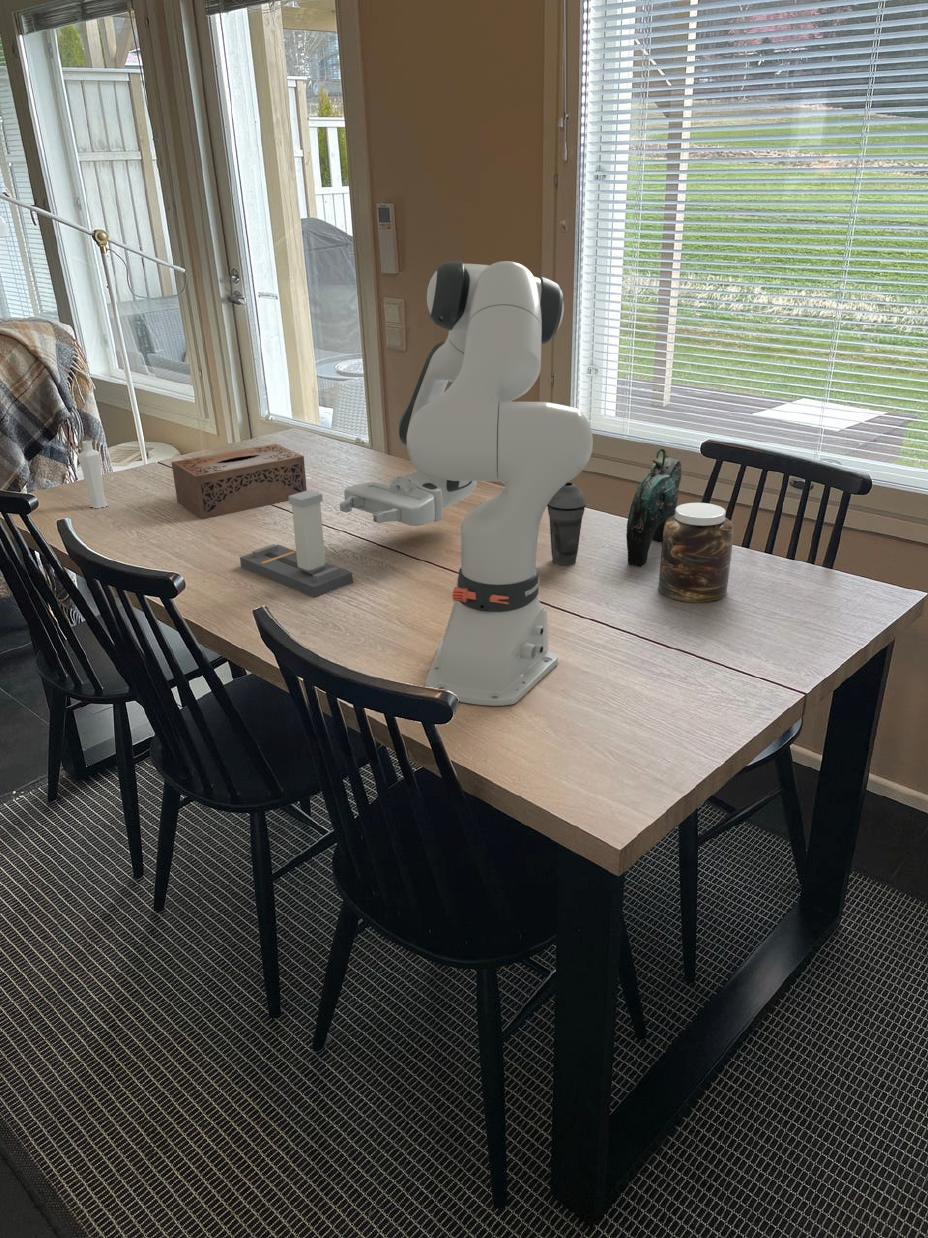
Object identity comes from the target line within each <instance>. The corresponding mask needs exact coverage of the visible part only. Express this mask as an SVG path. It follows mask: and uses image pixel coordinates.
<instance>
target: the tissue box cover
mask: <svg viewBox="0 0 928 1238" xmlns="http://www.w3.org/2000/svg"><path fill="white" fill-rule="evenodd" d="M171 468H172V474H173V481H174V489H175V495H176V502H177V503H176V504H178V503H179V504H180V506H181V505H182V506H183V509H185V508H186V509H185V510H186V511H188V512H189V513H191V514H193V515H194V516H196V517H197V518H199V519H200V520H206V519H212V518H215V517H221V516H226V515H230V514H235V513H239V512H244V511H249V510H254V509H257V508H263V507H266V506H271V504H272V505H277V504H281V503H280V502H282V503H285V502H289V496H291V495H294V494H297V493H301V492H304V491H307V490H308V489H307V480H306V479H307V478H306V466H305V456H304V455H302V454H300V453H297V452H295V451H294V450H291V449H288V448H286V447H285V446H282V445H281V444H280V445H279V444H277V443H270V444H266V445H259V446H254V447H248V448H243V449H237V450H230V451H226V452H220V453H215V454H209V455H202V456H197V457H191V458H186V459H181V460H175V461H171ZM276 503H277V504H276ZM179 504H178V505H179ZM182 506H181V507H182Z"/></svg>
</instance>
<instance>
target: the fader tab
mask: <svg viewBox="0 0 928 1238" xmlns="http://www.w3.org/2000/svg"><path fill="white" fill-rule="evenodd" d="M322 502H323V493H320V492H316V491H313V490H310V489H307V491H304V492H301V493H297V494H294V495H291V496H289V501H288V504H290V505H291V510H292V520H293V521H292V522H293V531H294V542H295V551H296V554H297V565H298V569H299V570H302V571H304V572H307V573H309V574H312V575H313V574H316V573H318V572H321V571H324V570H325V566H324V565H325V562H326V556H325V555H326V554H325V547H324V546H325V545H324V533H323V531H324V529H323V520H322V505H321V503H322Z"/></svg>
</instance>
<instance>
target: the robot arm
mask: <svg viewBox="0 0 928 1238" xmlns="http://www.w3.org/2000/svg"><path fill="white" fill-rule="evenodd" d="M563 295H564V294H563V291H562V289H561V288H560V285H559V284H558V283H556V282H554V281H553V280H551V279H548V278H546V277H543V276H539V277H537V276H534V275H533V273H532V272H531V270H530V269H528V268H527V267H526V266H525V265H523V264H521V263H518V262H515V261H509V260H508V261H507V260H505V261H504V260H503V261H496V262H494V263H492V264H490V265H489V264H478V263H477V264H476V263H463V261H462V260H461V261H460V260H453V261H451V260H450V261H444V262H443V263H442V264H440V265H438V266H437V267H436V269H435V272H434V273H433V275H432V276H431V278H430V281H429V284H428V286H427V290H426V302H427V303H426V305H427V309H428V311H429V317H430V319H431V320H432V322H433V323H434V324H435V325H436V326H438V327H440V328H442V329H445V330H448V333H447V334H448V335H447V338H446V339H445V340H442V341H439V342H438V343H437V344H436V345H435V346H434V347H433V348H432V349H431V351H430V352H429V354H428V355H427V357H426V359H425V362H424V364H423V367H422V370H421V372H420V374H419V378H418V380H417V383H416V386H415V387H414V391H413V394H412V396H411V398H410V401H409V404H408V405H407V407H406V409H405V410H404V411H403V413H402V415H401V417H400V419H399V424H398V436H399V440H400V442H401V443H402V444H403V445H405V446H406V448H407V454H408V456H409V459H410V461H411V463H412V464H413V466H414V468H415V469H417V470H413V471H411V472H408V473H404V474H402V475H398V476H396V477H395V478H393V480H392V482H391V484H390V485H387V484H383V483H380V482H374V481H371V482H363V483H359V484H353V485H349V486H347V487H345V489H344V491H343V492H344V501H342V502H340V503H339V511H340V512H341V513H350V512H352V511H353V509H356V510H360V511H362V512H366V513H369V514H372V517H373V519H372V520H373V522H375V523H378V524H383V523H385V522H386V523H389V522H390V523H391V522H398V523H402V524H405V525H408V526H411V527H420V526H424V525H427V524H429V523H434V522H440V521H442V520H443V516H444V515H443V512H444V511H443V510H444V509H445V508H448V507H450V506H453V505H454V504H456V503H459V502H461V501H463V500H464V499H466V498H468V497H469V496H470V495H472V493H473V492H474V491H475V489H476V487H477V483H478V482H498V483H502V484H503V485H504V488H503V489H502V491H501V492H500V493H498V495H496V496H494V497H493V498H491V499H489V500H487V501H484V502H482V503H480V504H478V505H477V506H475V507H473V508H472V509H471V510H469V512H468V513H467V514H466V515H465V516H464V518H463V520H462V523H461V526H460V548H461V549H460V553H461V554H460V561H461V562H460V565H461V566H460V568H459V570H458V576H457V579H456V587H454V588H453V590H452V596H451V597H452V600H453V605H452V609H451V611H450V615H449V618H448V622H447V626H446V628H445V631H444V632H445V633H444V636H443V639H441V640H440V644H439V645H438V648H437V651H436V653H435V656H434V659H433V661H432V663H431V666H430V669H429V671H428V674H427V677H426V679H425V683H424V687H425V686H427V687H433V688H438V689H444V690H449V691H451V692H453V693H454V694H456V695H457V697H458V698H459V700H460V702H459V703H464V704H465V703H466V704H469V705H470V704H472V705H477V706H478V705H480V706H494V707H495V706H496V707H497V706H508V705H509V706H510V705H514V704H516V703H518V702H519V701H520V700H521V699H522V698H523V697H524V696H525V695H527V694H528V692H529V691H531V690H532V689H533V688H534V687H535V686H536V685H537V684H539V682H540V681H541V680H543V678H544V677H546V675H548V674H549V672H551V671H552V670H553V669H554V668H555V667H556V666H557V665H558V664H559V659H558V655H557V654H555V653H554V652H552V651H550V650H549V628H548V627H549V624H548V623H549V622H548V611H547V610H546V608H545V607H544V606H543V605H542V603H541V602H540V600H539V598H538V595H539V586H540V577H539V569H538V568H537V552H538V551H537V548H538V538H539V530H540V525H541V522H542V521H541V520H542V519H543V515H544V513H545V510H546V508H548V506H547V505H548V503H549V502H550V500H551V499H552V497H553V496H554V495H555V494H556V493H557V491H558V490H559V489H560V488H561V487H562V486H564V485H565V484H566V483H567V482H569V483H570V481H571V480H573V479H574V478H576V477H578V476H579V475H580V474H581V472H582V471H583V470H584V469H585V468H586V467H587V464H588V462H589V460H590V459H591V455H592V453H593V445H594V444H593V443H594V439H593V438H594V437H593V431H592V428H591V425H590V422H589V420H588V419H587V417H586V416H585V414H584V413H583V412H582V411H581V409H579V408H577V407H573V406H569V405H565V404H559V403H555V402H549V401H515V400H517V399H518V398H521V397H522V396H524V395H525V394H527V393H528V392H529V390H531V388H532V387H533V386H534V385H535V383H536V381H537V380H538V378H539V376H540V375H541V374H540V373H541V368H542V367H541V366H542V365H541V364H542V345H545V344H547V343H549V342H550V341H552V339H554V338H555V337H556V334H557V332H558V330H559V328H560V326H561V324H562V321H563V319H564V313H565V312H564V310H565V309H564V307H565V305H564V296H563ZM450 382H451V385H449V387H448V388H447V385H448V383H450ZM446 388H447V389H446Z"/></svg>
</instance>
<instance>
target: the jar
mask: <svg viewBox="0 0 928 1238" xmlns="http://www.w3.org/2000/svg"><path fill="white" fill-rule="evenodd" d="M726 513H727V512H726V509H725V508H724V507H722V506H720V505H717V504H712V503H708V502H707V503H706V502H687V503H682V504H679V505H677V507H676V509H675V515H672V516H670V517H669V518H667V520H666V521H665V525H664V532H663V540H662V543H661V552H660V553H661V554H660V562H659V563H660V564H659V578H658V591H659V592H660V593H661V594H662V595H663V596H665V597H667V598H669V599H672V600H675V601H679V602H685V603H691V604H692V603H694V604H695V603H696V604H697V603H698V604H699V603H701V604H702V603H703V604H704V603H710V602H714V601H715V602H716V601H719V600H722V598H724V597H725V596H726V595H727V592H728V585H729V577H730V576H729V575H730V569H731V560H732V553H733V552H732V551H733V544H734V543H733V541H734V530H735V529H734V524H733V522H732V521H731V519H728V517H726Z"/></svg>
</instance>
